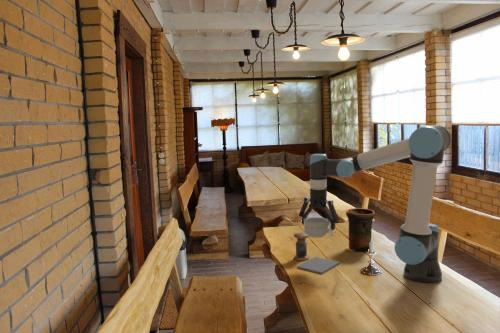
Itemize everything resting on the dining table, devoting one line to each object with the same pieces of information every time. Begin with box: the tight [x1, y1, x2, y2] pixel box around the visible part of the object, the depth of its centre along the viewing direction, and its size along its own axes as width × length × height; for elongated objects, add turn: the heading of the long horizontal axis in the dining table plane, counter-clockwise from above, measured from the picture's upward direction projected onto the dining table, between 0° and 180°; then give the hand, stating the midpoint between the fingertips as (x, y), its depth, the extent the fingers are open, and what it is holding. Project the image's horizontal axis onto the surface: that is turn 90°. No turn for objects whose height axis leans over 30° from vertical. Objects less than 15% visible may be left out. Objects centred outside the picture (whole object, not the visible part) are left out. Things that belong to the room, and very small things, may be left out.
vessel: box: [345, 207, 376, 253], centre depth 220 cm, size 14×14×20 cm
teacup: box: [304, 216, 330, 238], centre depth 194 cm, size 14×11×8 cm
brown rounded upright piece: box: [293, 232, 310, 262], centre depth 207 cm, size 7×7×12 cm
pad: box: [296, 256, 340, 275], centre depth 197 cm, size 13×16×1 cm
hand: (318, 234), depth 195 cm, fingers closed on teacup, 12 cm apart
